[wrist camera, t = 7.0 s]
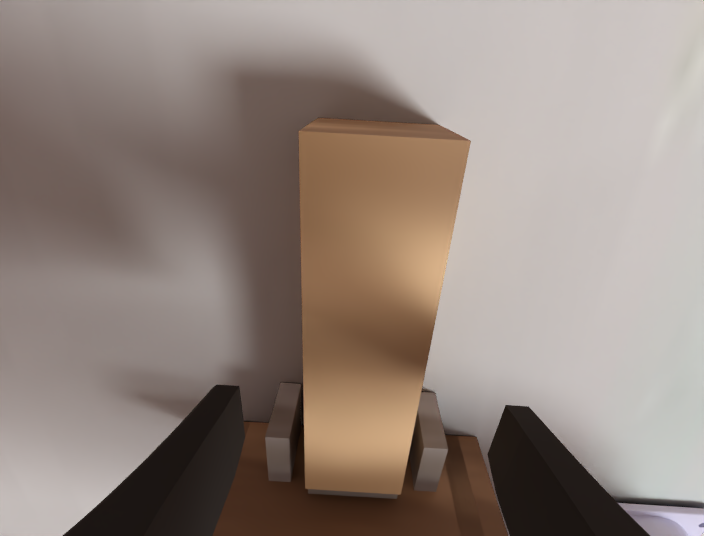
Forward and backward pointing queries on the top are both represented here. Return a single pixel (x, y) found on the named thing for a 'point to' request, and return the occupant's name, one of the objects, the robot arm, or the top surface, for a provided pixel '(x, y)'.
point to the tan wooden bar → (370, 291)
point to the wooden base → (351, 511)
